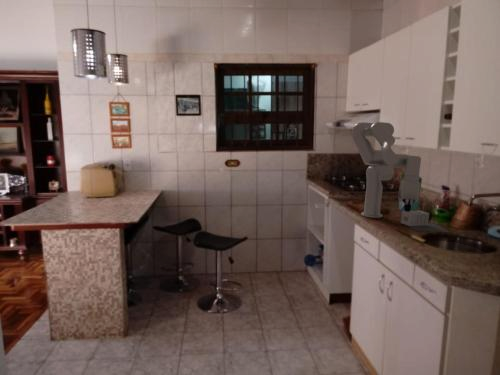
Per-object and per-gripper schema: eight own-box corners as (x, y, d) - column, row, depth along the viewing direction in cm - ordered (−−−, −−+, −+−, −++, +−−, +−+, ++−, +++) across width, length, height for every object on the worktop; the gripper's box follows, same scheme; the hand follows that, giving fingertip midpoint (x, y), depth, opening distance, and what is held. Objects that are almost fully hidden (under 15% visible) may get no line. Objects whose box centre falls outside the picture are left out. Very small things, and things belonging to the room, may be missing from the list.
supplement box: (402, 210, 206) (420, 210, 210) (400, 223, 207) (418, 222, 211) (411, 213, 199) (429, 213, 203) (409, 226, 200) (428, 226, 204)
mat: (402, 222, 211) (402, 221, 211) (433, 224, 211) (433, 223, 211) (415, 230, 194) (415, 230, 194) (449, 232, 193) (449, 231, 193)
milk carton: (417, 211, 245) (422, 174, 241) (407, 212, 242) (412, 174, 238) (407, 208, 253) (412, 173, 250) (397, 209, 250) (401, 173, 246)
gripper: (421, 178, 202) (417, 210, 205) (394, 176, 202) (391, 208, 205) (427, 180, 195) (423, 213, 197) (399, 178, 195) (396, 211, 198)
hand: (407, 211), depth 201 cm, fingers closed
